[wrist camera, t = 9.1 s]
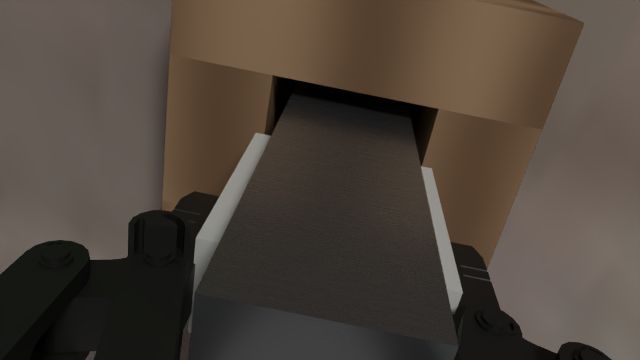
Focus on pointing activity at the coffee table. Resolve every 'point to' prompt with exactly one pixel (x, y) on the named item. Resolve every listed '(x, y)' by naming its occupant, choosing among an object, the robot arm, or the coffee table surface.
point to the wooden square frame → (372, 87)
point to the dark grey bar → (329, 244)
